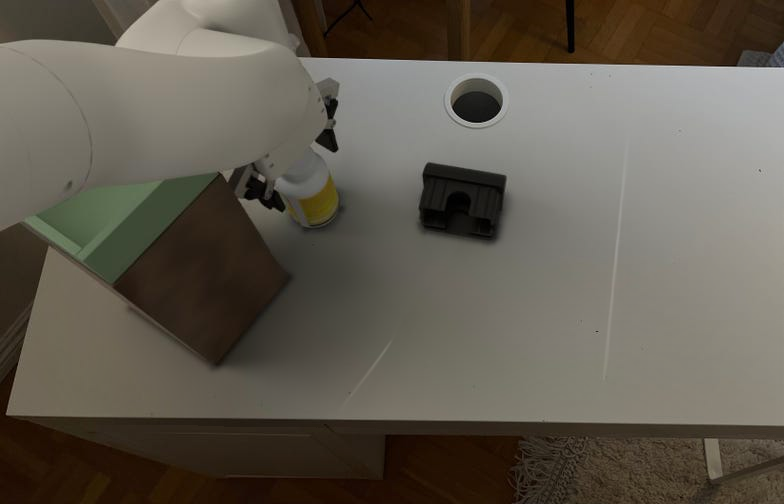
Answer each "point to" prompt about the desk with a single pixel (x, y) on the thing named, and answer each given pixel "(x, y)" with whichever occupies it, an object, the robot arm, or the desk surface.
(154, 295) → the stand
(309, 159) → the pill bottle
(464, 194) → the end cap
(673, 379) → the desk surface
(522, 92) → the desk surface
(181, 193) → the green storage bin
